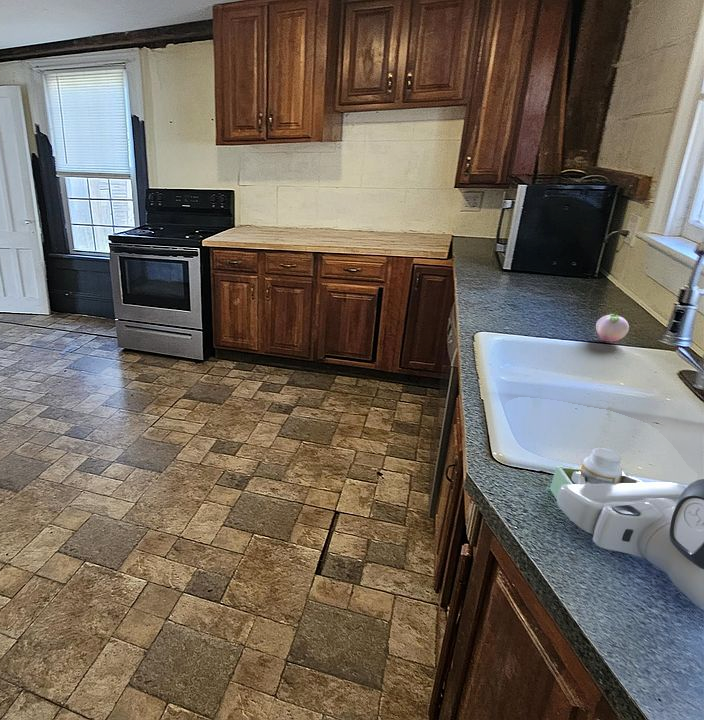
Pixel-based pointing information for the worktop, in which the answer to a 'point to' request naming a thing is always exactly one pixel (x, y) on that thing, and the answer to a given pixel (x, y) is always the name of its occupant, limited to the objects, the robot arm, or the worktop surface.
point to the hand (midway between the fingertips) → (595, 474)
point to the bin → (562, 478)
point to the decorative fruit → (612, 327)
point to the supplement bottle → (602, 467)
